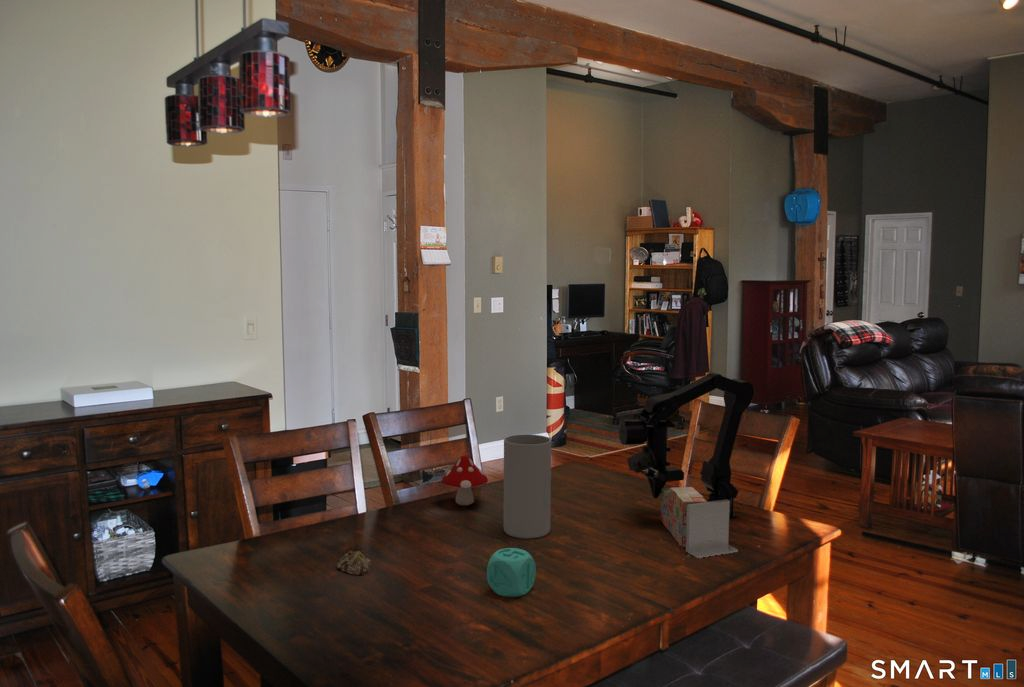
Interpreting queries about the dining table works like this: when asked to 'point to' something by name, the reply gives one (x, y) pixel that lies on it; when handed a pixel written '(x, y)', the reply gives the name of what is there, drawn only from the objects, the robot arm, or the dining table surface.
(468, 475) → the decorative mushroom
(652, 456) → the robot arm
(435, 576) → the dining table surface
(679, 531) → the stack of blocks
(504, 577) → the decorative dice
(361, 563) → the mineral rock
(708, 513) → the bookend
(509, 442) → the cylinder vase
